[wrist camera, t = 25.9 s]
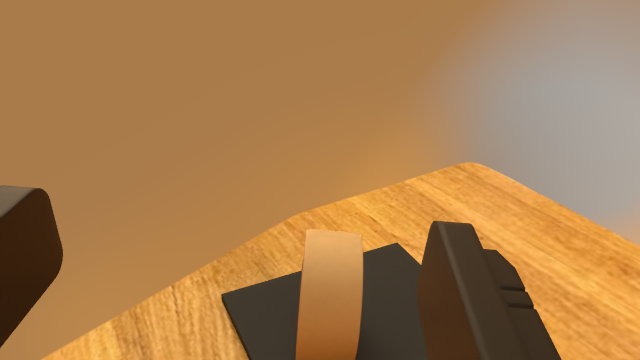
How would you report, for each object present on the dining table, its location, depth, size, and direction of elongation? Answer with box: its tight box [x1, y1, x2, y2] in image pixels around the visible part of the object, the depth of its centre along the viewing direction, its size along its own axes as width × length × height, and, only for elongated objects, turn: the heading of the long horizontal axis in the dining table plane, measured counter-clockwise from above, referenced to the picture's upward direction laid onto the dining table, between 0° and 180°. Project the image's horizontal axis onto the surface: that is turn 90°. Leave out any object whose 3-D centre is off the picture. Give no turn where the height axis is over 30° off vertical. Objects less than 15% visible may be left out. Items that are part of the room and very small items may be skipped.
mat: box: [222, 243, 429, 360], centre depth 38 cm, size 22×20×1 cm
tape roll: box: [296, 229, 363, 360], centre depth 36 cm, size 4×10×10 cm
